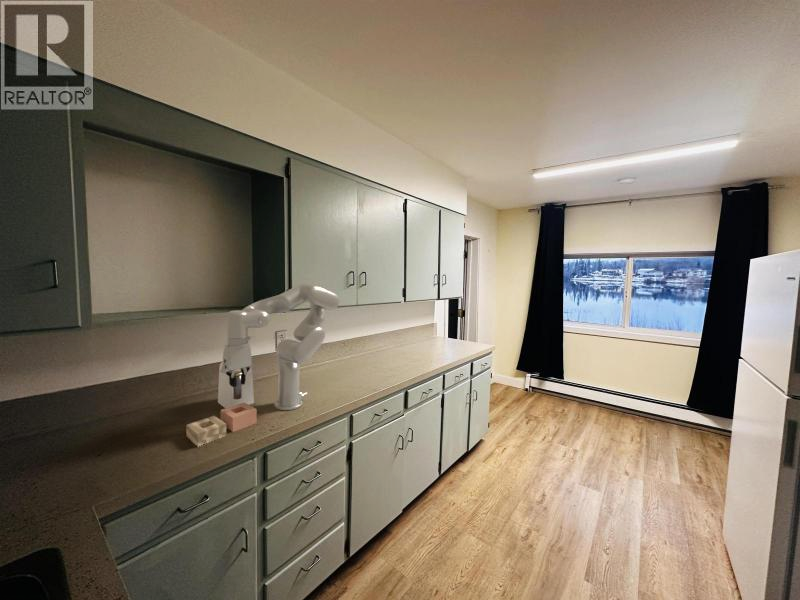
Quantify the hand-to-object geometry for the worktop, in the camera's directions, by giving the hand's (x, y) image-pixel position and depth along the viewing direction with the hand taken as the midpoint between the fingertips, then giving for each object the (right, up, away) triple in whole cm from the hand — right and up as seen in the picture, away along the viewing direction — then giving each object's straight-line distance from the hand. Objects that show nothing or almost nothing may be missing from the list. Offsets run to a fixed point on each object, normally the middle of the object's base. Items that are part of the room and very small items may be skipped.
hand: (237, 384), depth 134 cm
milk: (-11, -14, +21) cm, 28 cm away
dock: (-1, -17, +2) cm, 17 cm away
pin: (0, -6, +1) cm, 6 cm away
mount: (-7, -18, -9) cm, 21 cm away
